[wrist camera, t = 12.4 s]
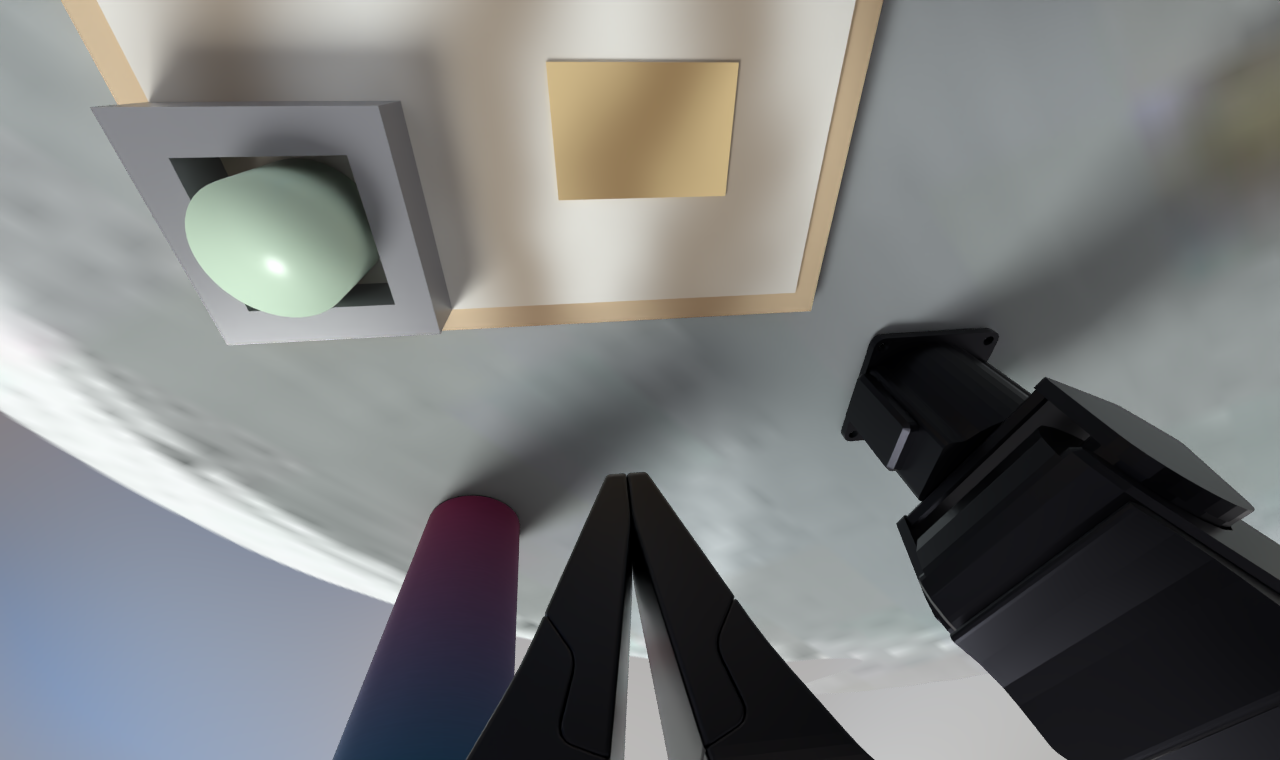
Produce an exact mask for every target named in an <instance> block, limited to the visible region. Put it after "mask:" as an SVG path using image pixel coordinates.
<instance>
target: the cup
mask: <svg viewBox="0 0 1280 760" xmlns="http://www.w3.org/2000/svg"><path fill="white" fill-rule="evenodd" d="M519 534H520V523H519V519H518V517H517V515H516V513H515V512H514V511H513V510H512V509H511V508H510V507H509V506H507V505H506V504H504V503H502V502H500V501H498V500H495V499H492V498H489V497H483V496H461V497H457V498H453V499H450V500H447V501H445V502H443V503H442V504H440V505H439V506H437V507H436V508H435V509H434V510H433V512H432V513H431V515H430V517H429V519H428V522H427V524H426V527H425V529H424V532H423V535H422V537H421V540H420V542H419V545H418V547H417V550H416V552H415V555H414V557H413V560H412V562H411V565H410V567H409V570H408V572H407V575H406V577H405V580H404V582H403V585H402V587H401V590H400V592H399V595H398V597H397V600H396V602H395V605H394V607H393V610H392V612H391V615H390V617H389V620H388V622H387V625H386V628H385V630H384V633H383V635H382V637H381V640H380V642H379V645H378V647H377V650H376V652H375V655H374V657H373V660H372V662H371V665H370V667H369V670H368V672H367V675H366V677H365V680H364V682H363V685H362V687H361V690H360V693H359V695H358V697H357V700H356V702H355V705H354V708H353V710H352V712H351V715H350V717H349V720H348V723H347V725H346V728H345V730H344V733H343V735H342V737H341V740H340V743H339V745H338V748H337V750H336V753H335V755H334V758H333V760H466V759H467V757H468V755H469V753H470V752H471V750H472V748H473V747H474V745H475V743H476V742H477V740H478V738H479V736H480V735H481V733H482V731H483V730H484V728H485V726H486V725H487V723H488V721H489V719H490V718H491V716H492V714H493V713H494V711H495V709H496V708H497V706H498V704H499V703H500V701H501V699H502V697H503V696H504V694H505V692H506V690H507V688H508V687H509V685H510V683H511V681H512V679H513V678H514V666H515V640H516V614H517V588H518V561H519Z"/></svg>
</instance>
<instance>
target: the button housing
mask: <svg viewBox="0 0 1280 760" xmlns="http://www.w3.org/2000/svg"><path fill="white" fill-rule="evenodd" d="M90 108H91V110H92V112H93V114H94V115H95V117H96V119H97V120H98V122H99V124H100V126H101V127H102V129H103V131H104V133H105V134H106V136H107V138H108V139H109V141H110V143H111V145H112V146H113V148H114V150H115V152H116V153H117V155H118V157H119V159H120V160H121V162H122V164H123V165H124V167H125V169H126V171H127V172H128V174H129V176H130V178H131V179H132V181H133V183H134V184H135V186H136V188H137V190H138V191H139V193H140V195H141V197H142V198H143V200H144V202H145V204H146V205H147V207H148V209H149V210H150V212H151V214H152V216H153V217H154V219H155V221H156V223H157V224H158V226H159V228H160V229H161V231H162V233H163V235H164V236H165V238H166V240H167V242H168V243H169V245H170V247H171V249H172V250H173V252H174V254H175V255H176V257H177V259H178V261H179V262H180V264H181V266H182V268H183V269H184V271H185V273H186V274H187V276H188V278H189V280H190V281H191V283H192V285H193V287H194V288H195V290H196V292H197V294H198V295H199V297H200V299H201V300H202V302H203V304H204V306H205V307H206V309H207V311H208V313H209V314H210V316H211V318H212V320H213V321H214V323H215V325H216V326H217V328H218V330H219V332H220V333H221V335H222V337H223V339H224V340H225V342H226V344H227V345H243V344H262V343H280V342H299V341H318V340H336V339H355V338H374V337H392V336H411V335H430V334H441V332H442V330H443V328H444V326H445V323H446V321H447V319H448V317H449V315H450V313H451V311H452V306H451V302H450V298H449V294H448V290H447V286H446V282H445V278H444V274H443V270H442V266H441V262H440V258H439V254H438V250H437V246H436V242H435V238H434V234H433V230H432V226H431V222H430V218H429V213H428V209H427V205H426V201H425V197H424V193H423V189H422V185H421V181H420V177H419V173H418V169H417V165H416V161H415V157H414V153H413V149H412V145H411V141H410V137H409V133H408V129H407V125H406V121H405V117H404V113H403V109H402V105H401V101H242V102H142V103H131V104H120V105H109V106H98V107H90ZM330 155H347V157H348V160H349V163H350V166H351V169H352V173H353V176H354V179H355V182H356V185H357V188H358V191H359V194H360V197H361V200H362V204H363V207H364V210H365V213H366V216H367V219H368V222H369V225H370V228H371V231H372V235H373V238H374V241H375V244H376V247H377V250H378V253H379V256H380V259H381V262H382V265H383V269H384V272H385V275H386V278H387V281H388V283H372V284H356V285H355V286H354V287H353V288H352V289H351V290H350V291H349V292H348V293H347V294H346V295H345V296H344V297H343V298H342V299H341V300H340V301H339V302H338V303H337V304H336V305H335V306H334V307H332V308H331V309H329V310H327V311H325V312H323V313H320V314H318V315H314V316H309V317H284V316H278V315H273V314H269V313H266V312H263V311H260V310H258V309H255V308H253V307H250V306H248V305H246V304H244V303H242V302H241V301H239V300H237V299H236V298H234V297H233V296H231V295H230V294H228V293H227V292H226V291H224V290H223V289H222V288H221V287H219V286H218V285H217V284H216V283H215V282H214V281H213V280H212V279H211V278H210V277H209V276H208V275H207V274H206V272H205V271H204V270H203V269H202V267H201V266H200V265H199V263H198V261H197V260H196V258H195V257H194V255H193V253H192V251H191V248H190V246H189V243H188V240H187V237H186V231H185V216H186V210H187V208H188V205H189V203H190V201H191V200H192V198H193V196H194V195H195V194H196V193H197V192H198V191H199V190H200V189H202V188H203V187H205V186H206V185H208V184H210V183H213V182H215V181H218V180H221V179H224V178H227V177H229V176H228V174H227V172H226V170H225V168H224V166H223V163H222V161H221V159H220V157H265V156H330Z"/></svg>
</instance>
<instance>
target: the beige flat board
mask: <svg viewBox="0 0 1280 760" xmlns="http://www.w3.org/2000/svg"><path fill="white" fill-rule="evenodd" d="M61 2H62V3H63V5H64V7H65V9H66V11H67V13H68V14H69V16H70V18H71V20H72V22H73V24H74V25H75V27H76V29H77V31H78V33H79V35H80V36H81V38H82V40H83V42H84V44H85V46H86V47H87V49H88V51H89V53H90V55H91V56H92V58H93V60H94V62H95V64H96V66H97V67H98V69H99V71H100V73H101V75H102V77H103V78H104V80H105V82H106V84H107V86H108V88H109V89H110V91H111V93H112V95H113V97H114V99H115V100H116V102H117V104H118V105H120V104H131V103H142V102H242V101H401V105H402V109H403V113H404V117H405V121H406V125H407V129H408V133H409V137H410V141H411V145H412V149H413V153H414V157H415V161H416V165H417V169H418V173H419V177H420V181H421V185H422V189H423V193H424V197H425V201H426V205H427V209H428V213H429V218H430V222H431V226H432V230H433V234H434V238H435V242H436V246H437V250H438V254H439V258H440V262H441V266H442V270H443V274H444V278H445V282H446V286H447V290H448V294H449V298H450V302H451V306H452V311H451V313H450V315H449V317H448V319H447V321H446V323H445V326H444V328H443V330H442V331H444V330H463V329H482V328H500V327H519V326H538V325H557V324H576V323H595V322H614V321H633V320H652V319H671V318H690V317H709V316H728V315H746V314H765V313H784V312H803V311H811V308H812V304H813V300H814V295H815V291H816V287H817V282H818V278H819V274H820V270H821V265H822V261H823V257H824V252H825V248H826V244H827V239H828V235H829V231H830V227H831V222H832V218H833V214H834V209H835V205H836V201H837V197H838V192H839V188H840V184H841V179H842V175H843V171H844V166H845V162H846V158H847V154H848V149H849V145H850V141H851V136H852V132H853V128H854V124H855V119H856V115H857V111H858V106H859V102H860V98H861V93H862V89H863V85H864V81H865V76H866V72H867V68H868V63H869V59H870V55H871V51H872V46H873V42H874V38H875V33H876V29H877V25H878V20H879V16H880V12H881V8H882V3H883V0H61ZM290 158H301V159H308V160H313V161H317V162H320V163H323V164H326V165H328V166H330V167H332V168H334V169H336V170H338V171H340V172H341V173H343V174H344V175H346V176H347V177H349V178H350V179H351V180H352V181H354V182H355V179H354V176H353V173H352V169H351V166H350V163H349V160H348V157H347V155H330V156H265V157H220V159H221V161H222V163H223V166H224V168H225V170H226V172H227V174H228V176H229V177H230V176H233V175H236V174H239V173H242V172H245V171H248V170H251V169H254V168H257V167H260V166H263V165H266V164H269V163H272V162H275V161H279V160H283V159H290ZM355 183H356V182H355ZM372 283H388V281H387V278H386V275H385V272H384V269H383V265H382V262H381V259H380V258H379V260H378V261H377V263H376V264H375V265H374V266H373V268H372V269H371V270H370V271H369V272H368V273H367V274H366V275H365V276H364V277H363V278H362V279H361V280H360V281H359V282H358V283H357V284H372Z"/></svg>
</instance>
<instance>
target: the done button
mask: <svg viewBox="0 0 1280 760" xmlns="http://www.w3.org/2000/svg"><path fill="white" fill-rule="evenodd" d="M185 231H186V237H187V240H188V243H189V246H190V248H191V251H192V253H193V255H194V257H195V258H196V260H197V261H198V263H199V265H200V266H201V267H202V269H203V270H204V271H205V272H206V274H207V275H208V276H209V277H210V278H211V279H212V280H213V281H214V282H215V283H216V284H217V285H218V286H219V287H221V288H222V289H223V290H224V291H226V292H227V293H228V294H230V295H231V296H233V297H234V298H236V299H237V300H239V301H241V302H242V303H244V304H246V305H248V306H250V307H253V308H255V309H258V310H260V311H263V312H266V313H269V314H273V315H278V316H284V317H309V316H314V315H318V314H320V313H323V312H325V311H327V310H329V309H331V308H332V307H334V306H335V305H336V304H337V303H338V302H339V301H340V300H341V299H342V298H343V297H344V296H345V295H346V294H347V293H348V292H349V291H350V290H351V289H352V288H353V287H354V286H355V285H356V284H357V283H358V282H359V281H360V280H361V279H362V278H363V277H364V276H365V275H366V274H367V273H368V272H369V271H370V270H371V269H372V268H373V266H374V265H375V264H376V263H377V261H378V260H379V258H380V256H379V253H378V250H377V247H376V244H375V241H374V238H373V235H372V231H371V228H370V225H369V222H368V219H367V216H366V213H365V210H364V207H363V204H362V200H361V197H360V194H359V191H358V188H357V185H356V183H355V182H354V181H352V180H351V179H350V178H349V177H347V176H346V175H344V174H343V173H341V172H340V171H338V170H336V169H334V168H332V167H330V166H328V165H326V164H323V163H320V162H317V161H313V160H308V159H301V158H290V159H283V160H279V161H275V162H272V163H269V164H266V165H263V166H260V167H257V168H254V169H251V170H248V171H245V172H242V173H239V174H236V175H233V176H230V177H227V178H224V179H221V180H218V181H215V182H213V183H210V184H208V185H206V186H205V187H203V188H202V189H200V190H199V191H198V192H197V193H196V194H195V195H194V196H193V198H192V200H191V201H190V203H189V205H188V208H187V210H186V216H185Z"/></svg>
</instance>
